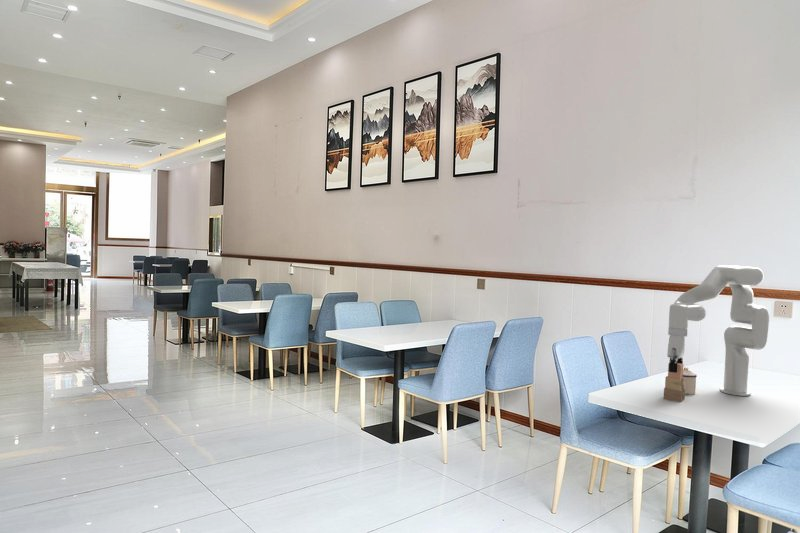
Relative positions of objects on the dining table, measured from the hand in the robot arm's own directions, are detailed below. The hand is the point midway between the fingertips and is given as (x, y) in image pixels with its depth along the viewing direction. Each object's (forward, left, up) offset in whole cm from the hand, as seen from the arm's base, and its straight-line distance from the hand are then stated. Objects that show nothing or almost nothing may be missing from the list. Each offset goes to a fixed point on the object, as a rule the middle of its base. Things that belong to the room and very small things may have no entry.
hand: (675, 370), depth 244 cm
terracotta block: (0, 0, -3) cm, 3 cm away
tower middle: (0, 0, -8) cm, 8 cm away
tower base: (0, 0, -13) cm, 13 cm away
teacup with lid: (-18, -1, -13) cm, 22 cm away
